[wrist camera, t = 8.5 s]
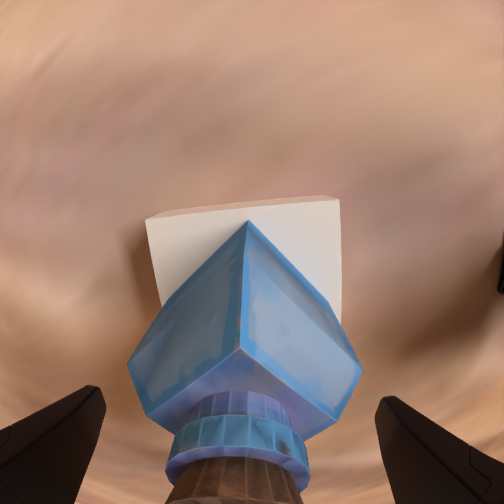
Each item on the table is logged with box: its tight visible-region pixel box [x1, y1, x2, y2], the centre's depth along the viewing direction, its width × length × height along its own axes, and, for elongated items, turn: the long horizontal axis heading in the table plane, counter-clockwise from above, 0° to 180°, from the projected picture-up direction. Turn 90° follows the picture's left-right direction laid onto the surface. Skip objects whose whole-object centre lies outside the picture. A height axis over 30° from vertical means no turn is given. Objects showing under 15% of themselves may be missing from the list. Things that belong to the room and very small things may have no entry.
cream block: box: [145, 195, 342, 325], centre depth 18 cm, size 10×10×4 cm
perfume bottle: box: [127, 220, 363, 504], centre depth 10 cm, size 6×6×12 cm
